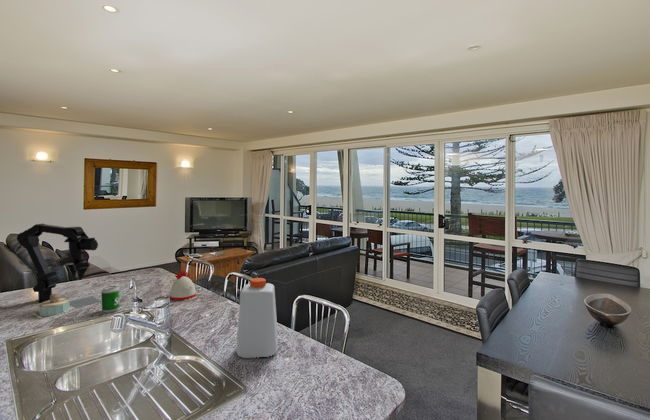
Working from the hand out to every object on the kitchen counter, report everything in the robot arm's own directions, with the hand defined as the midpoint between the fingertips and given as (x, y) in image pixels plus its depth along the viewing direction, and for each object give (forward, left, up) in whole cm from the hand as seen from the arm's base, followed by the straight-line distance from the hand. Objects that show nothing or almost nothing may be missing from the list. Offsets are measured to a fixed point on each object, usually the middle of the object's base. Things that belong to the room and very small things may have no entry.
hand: (76, 278), depth 178 cm
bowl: (+10, -13, -12) cm, 21 cm away
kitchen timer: (+39, +38, -13) cm, 56 cm away
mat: (+6, +1, -12) cm, 14 cm away
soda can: (+30, +4, -13) cm, 33 cm away
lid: (+10, -13, -8) cm, 18 cm away
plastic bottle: (+119, +19, -13) cm, 121 cm away
